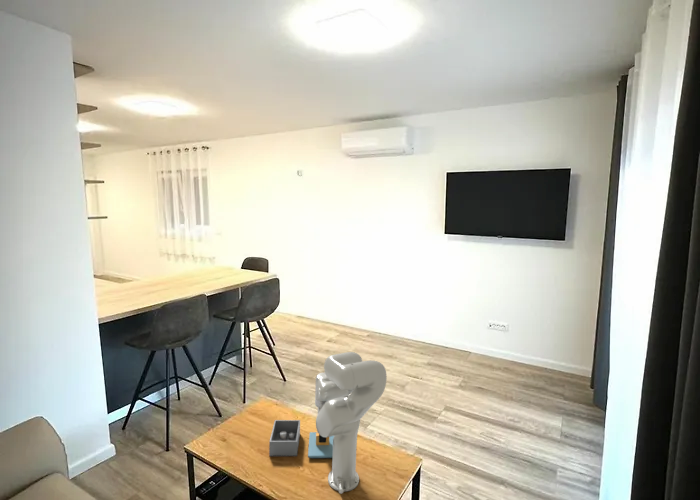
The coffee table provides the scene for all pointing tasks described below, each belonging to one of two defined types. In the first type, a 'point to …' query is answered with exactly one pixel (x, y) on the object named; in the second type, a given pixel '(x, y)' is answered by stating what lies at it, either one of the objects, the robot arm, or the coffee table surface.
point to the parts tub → (284, 438)
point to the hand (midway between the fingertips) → (322, 438)
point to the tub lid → (320, 446)
